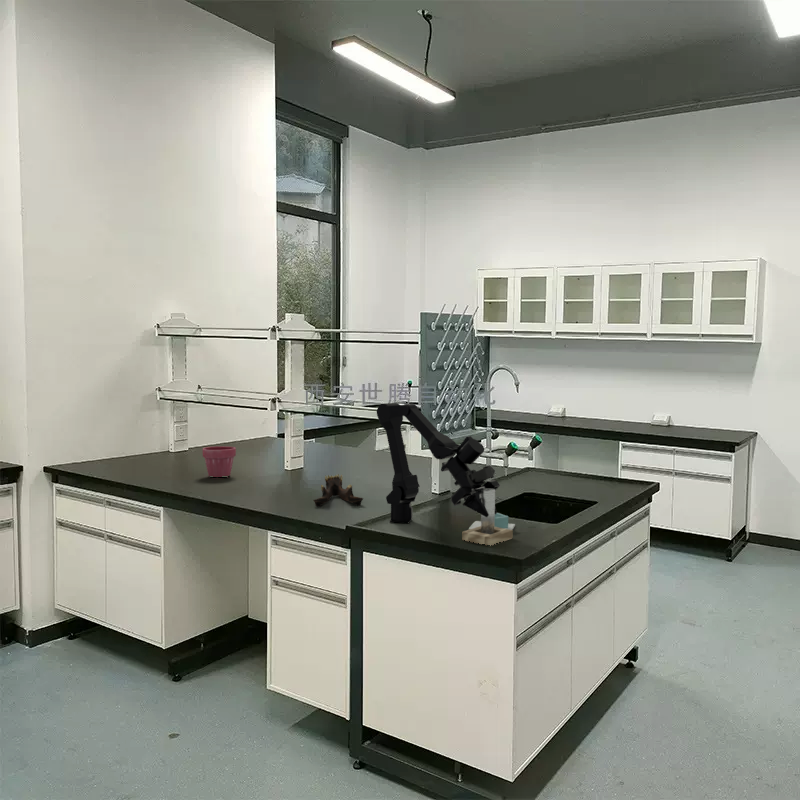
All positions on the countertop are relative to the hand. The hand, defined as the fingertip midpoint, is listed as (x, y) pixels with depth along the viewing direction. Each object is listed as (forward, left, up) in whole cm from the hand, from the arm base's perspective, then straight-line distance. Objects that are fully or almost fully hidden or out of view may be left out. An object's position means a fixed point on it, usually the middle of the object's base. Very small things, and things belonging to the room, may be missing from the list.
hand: (491, 514), depth 217 cm
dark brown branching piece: (-57, +47, -8) cm, 74 cm away
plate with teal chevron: (0, +15, -8) cm, 17 cm away
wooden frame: (-1, +1, -8) cm, 8 cm away
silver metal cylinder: (-1, +1, -8) cm, 8 cm away
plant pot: (-121, +87, -8) cm, 149 cm away
